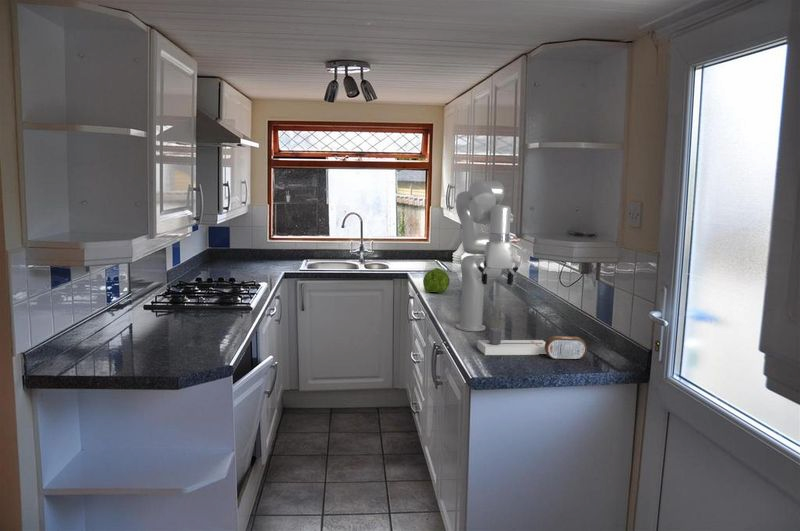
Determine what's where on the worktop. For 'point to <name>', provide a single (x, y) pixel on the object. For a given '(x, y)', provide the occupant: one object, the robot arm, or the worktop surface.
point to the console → (512, 347)
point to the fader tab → (494, 335)
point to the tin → (565, 347)
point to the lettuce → (436, 281)
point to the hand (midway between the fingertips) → (497, 284)
